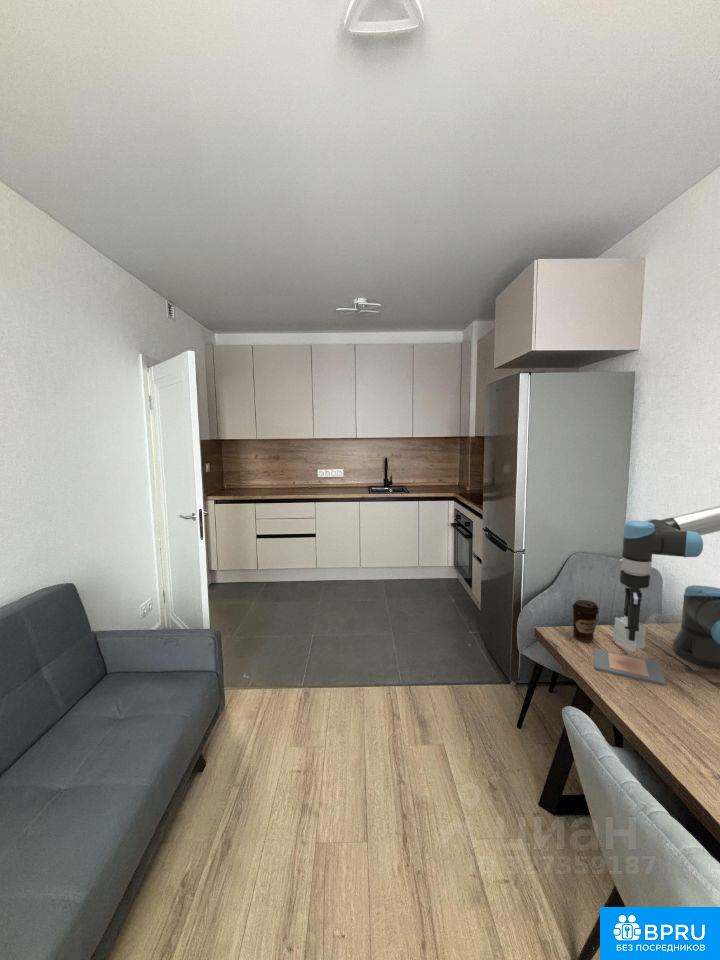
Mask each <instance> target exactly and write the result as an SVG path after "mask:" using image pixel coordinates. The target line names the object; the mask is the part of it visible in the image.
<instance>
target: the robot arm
mask: <svg viewBox="0 0 720 960" xmlns="http://www.w3.org/2000/svg"><path fill="white" fill-rule="evenodd" d="M624 524H625V526H624V528H623V529H624V530H623V534H622V535H623V536H622V537H623V539H622V553H621V554H622V555H621V559H619V560H618V561H619V563H621V565H620V569H621V570H620V574H619V582H620V583H621V584H622V585H624V586H626V587H625V588H624V589H625V590H624V594H625V595H624V604H623V605H624V607H623V614H624V616H623V617H628V626H627V627H625V629H626V639H625V647H624V650H625V649H626V650H629V651H634V652H635V651H636V650H637V648H636V641H637V631H639V621H640V615H641V613H640V612H641V604H642V603H641V602H642V598H643V597H642V596H643V592H641V590H642V589H647V588H649V586H650V580H651V579H650V578H651V576H650V574H651V572H652V562H653V561H652V560H653V555H656V556H657V555H659V556H670V557H672V556H673V557H683V558H697V557H699V556H700V555H701V554H702V552H703V550H704V541H703V538H702V536H705V535H709V534H713V533H717V532H720V505H717V506H713V507H710V508H709V507H708V508H704V509H701V510H697V511H693V512H688V513H685V514H681V515H676V516H672V517H667V518H664V519H654V518H649V519H646V520H644V521H643V520H629V521H626V523H624ZM640 589H641V590H640ZM682 604H683V605H682V612H681V615H682V616H681V624H680V625H681V626H680V629H679V630H678V632H677V634H676V636H675V638H674V639H673V641H672V647H671V649H672V651H673V652H674V654H675V655H677V656H679V657H681V658H682V659H684V660H686V661H687V662H690V663H693V664H695V665H699V666H703V667H707V668H712V669H713V668H714V669H720V587H719V588H718V587H715V586H714V587H713V586H707V585H698V584H697V585H696V584H695V585H694V584H693V585H688V586H686V587H685V589H684V593H683V603H682Z"/></svg>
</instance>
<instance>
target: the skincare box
mask: <svg viewBox="0 0 720 960" xmlns="http://www.w3.org/2000/svg"><path fill="white" fill-rule="evenodd" d="M627 626H628V617H624V616H622V617H619V616H618V617H617V616H616V617H615V618H614V627H613V628H614V629H613V640H614V641H615V642H617V644H619V645H621V646H622V647H623V648H625V639H626V629H625V627H627ZM646 631H647V625H646V624H645V623H643V622H641V621H640V620H639V631H637V641H636V649H645V645H646Z"/></svg>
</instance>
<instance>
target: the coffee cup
mask: <svg viewBox="0 0 720 960" xmlns="http://www.w3.org/2000/svg"><path fill="white" fill-rule="evenodd" d="M599 610H600V609H599V607H598V605H597V603H595V602H594V601H591V600H587V599H580V600H579V599H578V600H576V601H575V602H574V603H573V604H572V621H573V622H572V624H573V625H572V628H573V629H572V630H573V631H572V632H573V638H574V639H575V640H578V641H580V642H584V643H586V642H587V643H591V642H593V641H594V633H595V631H596V625H597V615H598V614H599Z"/></svg>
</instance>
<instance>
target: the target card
mask: <svg viewBox="0 0 720 960" xmlns="http://www.w3.org/2000/svg"><path fill="white" fill-rule="evenodd" d="M593 660H594V670H595V671H598V672H603V673H606V674H607V673H608V674H613V675H616V676H619V677H620V676H621V677H624V678H630V679H634V680H637V681H642V682H647V683H651V684H654V685H657V686H658V685H659V686H662V687H663V686H664V687H667V682H666V678H665V676H664V672H663V669H662V666H661V663H660V662H659V660H658V661H657V660H652V659H647V658H643V657H638V656H633V655H628V654H623V653H619V652H616V651H615V652H614V651H610V650H605V649H600V648H596V647H594V648H593Z"/></svg>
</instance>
